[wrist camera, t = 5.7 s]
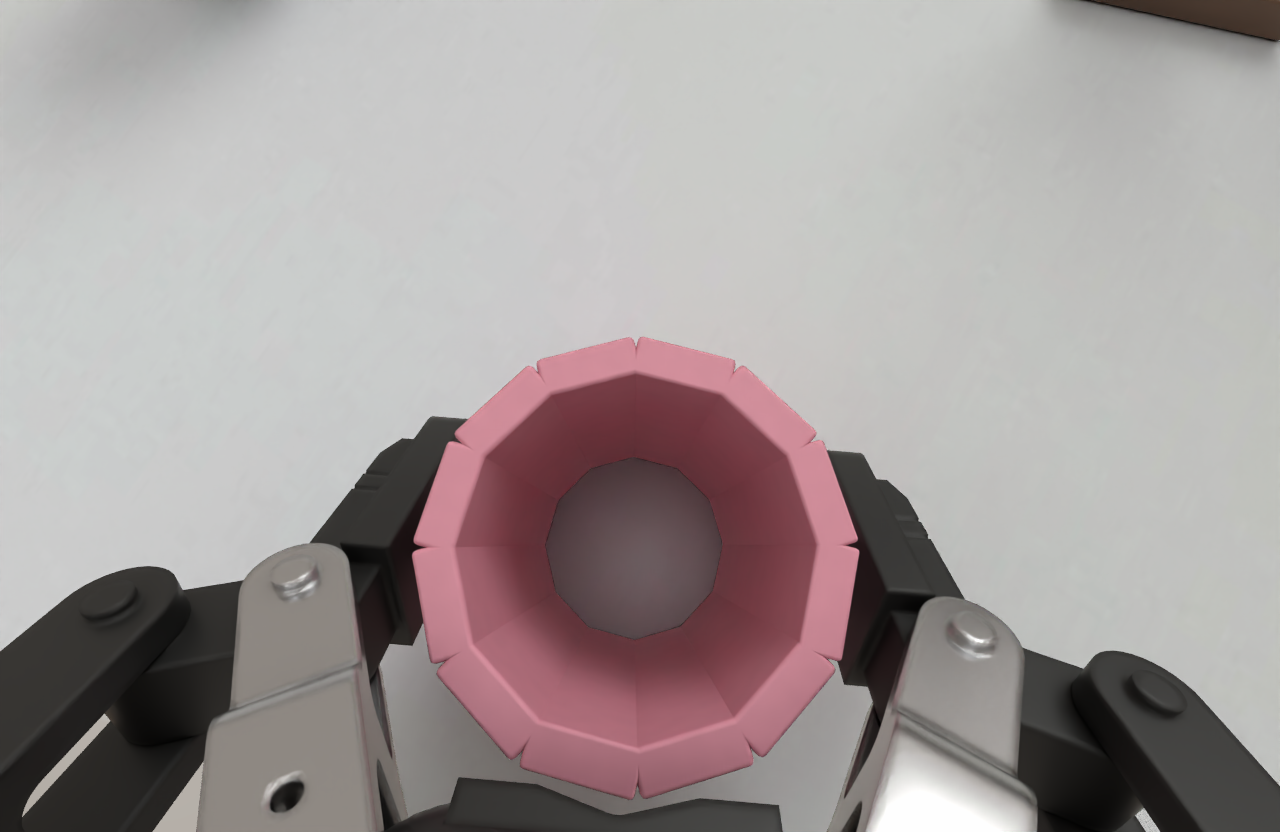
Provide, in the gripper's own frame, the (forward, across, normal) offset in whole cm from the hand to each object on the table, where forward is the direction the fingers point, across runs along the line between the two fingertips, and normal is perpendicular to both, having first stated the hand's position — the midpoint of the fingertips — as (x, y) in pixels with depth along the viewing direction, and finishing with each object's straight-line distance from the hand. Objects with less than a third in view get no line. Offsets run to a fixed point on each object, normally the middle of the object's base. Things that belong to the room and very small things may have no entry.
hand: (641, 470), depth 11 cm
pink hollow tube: (+2, 0, +4) cm, 5 cm away
